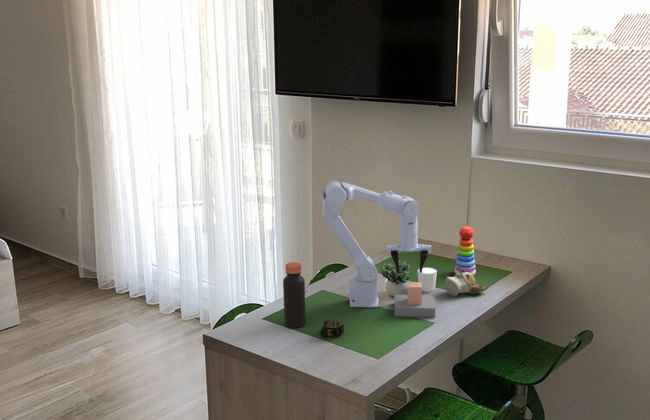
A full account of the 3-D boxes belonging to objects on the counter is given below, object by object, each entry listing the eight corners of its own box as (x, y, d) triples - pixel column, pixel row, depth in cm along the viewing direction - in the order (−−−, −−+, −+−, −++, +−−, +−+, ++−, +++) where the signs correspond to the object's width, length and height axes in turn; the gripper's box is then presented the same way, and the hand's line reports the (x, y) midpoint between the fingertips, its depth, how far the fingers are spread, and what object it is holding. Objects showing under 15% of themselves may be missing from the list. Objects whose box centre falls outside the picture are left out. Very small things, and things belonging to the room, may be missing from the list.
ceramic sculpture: (437, 267, 243) (471, 263, 250) (435, 291, 245) (469, 285, 252) (456, 277, 234) (490, 272, 240) (453, 301, 236) (488, 295, 242)
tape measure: (324, 329, 217) (323, 318, 216) (345, 330, 216) (345, 319, 215) (320, 338, 211) (319, 327, 210) (342, 340, 209) (342, 328, 208)
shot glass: (436, 293, 244) (436, 274, 242) (416, 291, 245) (416, 273, 243) (437, 285, 250) (437, 267, 248) (417, 284, 251) (418, 266, 250)
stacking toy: (450, 271, 264) (451, 224, 259) (469, 269, 266) (471, 222, 261) (460, 278, 257) (462, 230, 252) (479, 275, 259) (481, 227, 254)
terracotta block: (407, 304, 227) (407, 287, 225) (407, 298, 231) (407, 282, 230) (421, 304, 226) (421, 287, 225) (421, 299, 231) (421, 282, 229)
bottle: (280, 324, 221) (277, 264, 216) (296, 317, 226) (294, 259, 220) (294, 330, 216) (292, 270, 211) (310, 323, 221) (308, 264, 216)
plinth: (394, 316, 225) (394, 307, 224) (394, 303, 236) (394, 294, 235) (434, 317, 224) (435, 308, 223) (433, 303, 234) (433, 295, 234)
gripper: (387, 237, 228) (387, 276, 232) (431, 236, 227) (431, 275, 230) (387, 231, 235) (387, 268, 239) (430, 230, 234) (430, 268, 237)
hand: (409, 271), depth 235 cm, fingers open, 7 cm apart
